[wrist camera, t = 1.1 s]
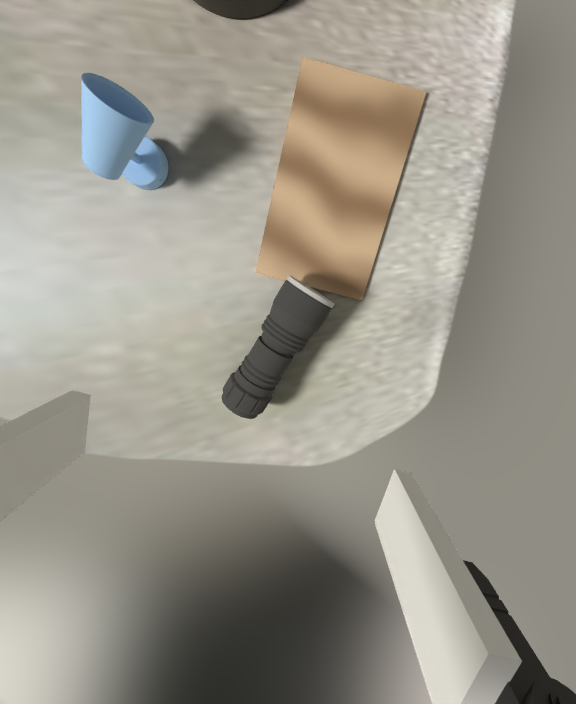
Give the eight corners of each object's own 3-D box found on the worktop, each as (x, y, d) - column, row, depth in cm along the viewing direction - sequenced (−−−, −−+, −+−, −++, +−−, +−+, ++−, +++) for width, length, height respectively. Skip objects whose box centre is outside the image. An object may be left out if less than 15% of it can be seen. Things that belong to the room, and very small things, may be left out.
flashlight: (262, 408, 38) (256, 431, 32) (223, 386, 37) (210, 406, 32) (331, 300, 34) (337, 306, 28) (289, 274, 33) (287, 275, 28)
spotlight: (149, 114, 30) (110, 172, 32) (80, 38, 21) (27, 126, 22) (188, 152, 31) (148, 207, 32) (139, 95, 21) (85, 177, 23)
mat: (302, 59, 29) (302, 56, 28) (424, 94, 29) (426, 91, 29) (255, 272, 34) (255, 272, 33) (361, 300, 34) (362, 300, 34)
